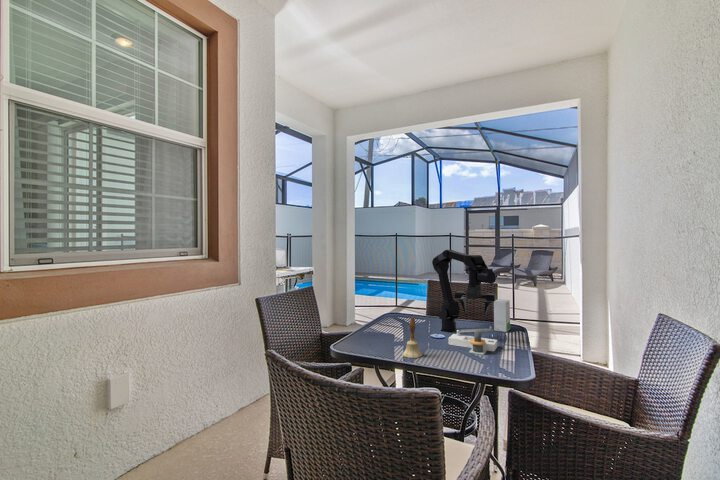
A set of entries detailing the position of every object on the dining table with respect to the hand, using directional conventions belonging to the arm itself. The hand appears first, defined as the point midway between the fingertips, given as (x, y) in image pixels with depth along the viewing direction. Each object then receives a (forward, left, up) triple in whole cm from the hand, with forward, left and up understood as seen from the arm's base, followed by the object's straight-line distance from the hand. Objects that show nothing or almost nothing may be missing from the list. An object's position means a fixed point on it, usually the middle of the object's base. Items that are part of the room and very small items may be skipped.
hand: (475, 313), depth 168 cm
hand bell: (-18, -34, -13) cm, 41 cm away
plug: (+5, -16, -12) cm, 21 cm away
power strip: (0, -9, -12) cm, 15 cm away
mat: (+5, -16, -12) cm, 21 cm away
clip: (0, -2, -8) cm, 8 cm away
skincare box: (+8, +25, -13) cm, 29 cm away
